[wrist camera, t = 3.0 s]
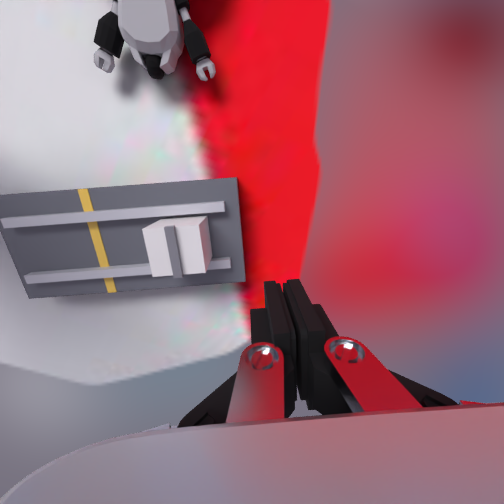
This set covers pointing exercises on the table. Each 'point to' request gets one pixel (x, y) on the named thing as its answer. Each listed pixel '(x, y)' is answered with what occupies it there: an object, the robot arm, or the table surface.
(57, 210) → the grey slider rail base
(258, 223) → the table surface
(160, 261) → the fader tab
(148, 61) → the robot toy
